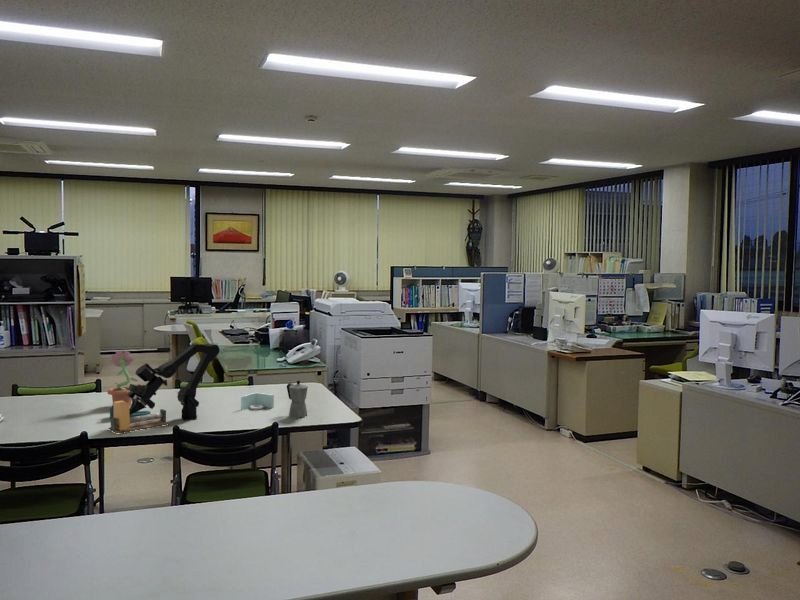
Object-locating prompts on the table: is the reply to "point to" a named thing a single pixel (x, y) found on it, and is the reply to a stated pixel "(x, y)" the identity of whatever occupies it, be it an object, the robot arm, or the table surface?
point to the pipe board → (141, 422)
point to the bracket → (138, 413)
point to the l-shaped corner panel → (257, 401)
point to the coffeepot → (297, 399)
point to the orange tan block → (122, 414)
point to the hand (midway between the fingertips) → (128, 414)
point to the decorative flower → (120, 361)
